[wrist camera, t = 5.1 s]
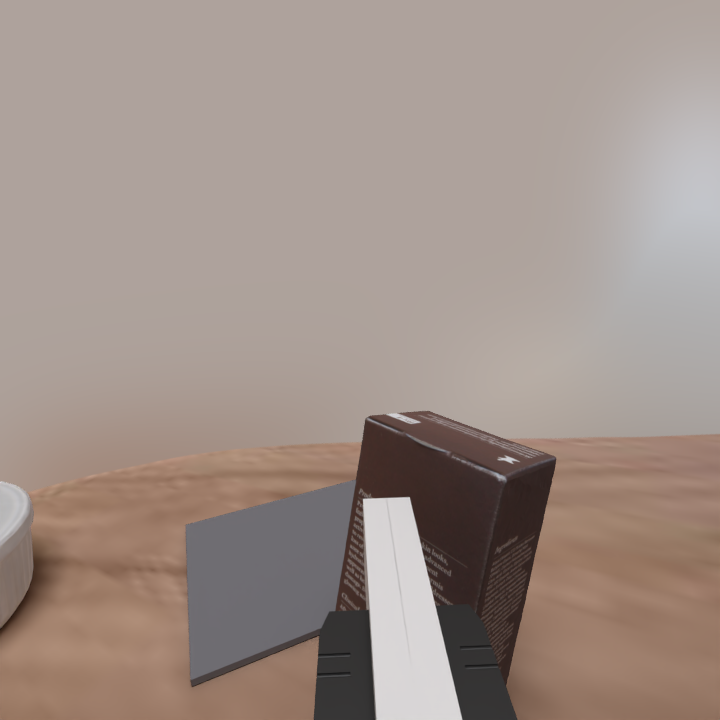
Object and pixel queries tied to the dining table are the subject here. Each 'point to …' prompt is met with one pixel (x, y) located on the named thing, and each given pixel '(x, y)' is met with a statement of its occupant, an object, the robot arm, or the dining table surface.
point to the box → (456, 514)
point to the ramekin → (14, 548)
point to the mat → (264, 577)
